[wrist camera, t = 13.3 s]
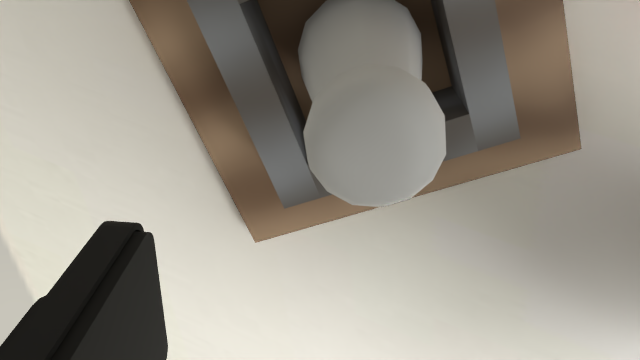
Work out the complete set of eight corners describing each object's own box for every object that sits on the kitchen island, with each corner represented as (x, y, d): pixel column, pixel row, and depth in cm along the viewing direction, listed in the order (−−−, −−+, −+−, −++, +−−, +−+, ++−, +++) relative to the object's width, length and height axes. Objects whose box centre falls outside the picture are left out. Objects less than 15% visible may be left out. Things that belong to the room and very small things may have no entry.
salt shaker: (279, 25, 25) (232, 126, 14) (377, -44, 23) (417, 6, 12) (341, 116, 27) (346, 267, 16) (435, 59, 26) (514, 183, 14)
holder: (572, 140, 29) (616, 184, 24) (258, 231, 33) (245, 284, 28) (515, -289, 20) (568, -345, 15) (91, -95, 24) (33, -94, 19)
